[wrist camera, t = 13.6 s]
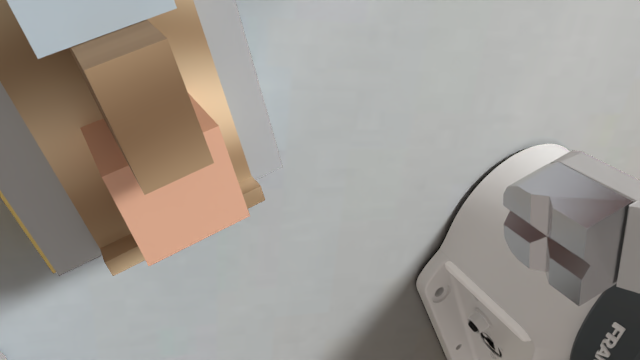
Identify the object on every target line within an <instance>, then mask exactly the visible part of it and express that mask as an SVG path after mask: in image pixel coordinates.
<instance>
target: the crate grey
mask: <svg viewBox="0 0 640 360" xmlns="http://www.w3.org/2000/svg"><path fill="white" fill-rule="evenodd" d="M7 2H8V4H9V6H10V8H11V10H12V11H13V13H14V15H15V17H16V19H17V21H18V23H19V25H20V26H21V28H22V30H23V32H24V34H25V36H26V38H27V40H28V41H29V43H30V45H31V47H32V49H33V51H34V53H35V54H36V56H37V58H38V59H39V58H42V57H45V56H48V55H50V54H53V53H56V52H59V51H61V50H64V49H67V48H70V47H72V46H75V45H78V44H81V43H83V42H86V41H89V40H91V39H94V38H97V37H100V36H102V35H105V34H108V33H111V32H113V31H116V30H119V29H122V28H124V27H127V26H130V25H133V24H135V23H138V22H141V21H143V20H146V19H149V18H152V17H154V16H157V15H160V14H163V13H165V12H168V11H171V10H174V9H176V8H177V7H176V4H175V1H174V0H7Z"/></svg>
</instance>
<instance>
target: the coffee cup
mask: <svg viewBox="0 0 640 360" xmlns="http://www.w3.org/2000/svg"><path fill="white" fill-rule="evenodd" d="M0 360H7V358H6V357H5V355H4V354H3V353H2V352H1V351H0Z"/></svg>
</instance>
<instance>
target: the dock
mask: <svg viewBox="0 0 640 360" xmlns="http://www.w3.org/2000/svg"><path fill="white" fill-rule="evenodd" d="M193 1H194V4H195V7H196V10H197V13H198V16H199V19H200V22H201V25H202V28H203V31H204V34H205V37H206V40H207V43H208V46H209V49H210V52H211V55H212V58H213V61H214V64H215V67H216V70H217V73H218V76H219V79H220V82H221V85H222V88H223V91H224V94H225V97H226V100H227V103H228V106H229V109H230V112H231V115H232V118H233V121H234V124H235V127H236V130H237V133H238V136H239V139H240V142H241V145H242V148H243V151H244V155H245V158H246V161H247V164H248V167H249V170H250V173H251V176H252V177H253V178H254V179H255V180H258V179H260V178H262V177H264V176H266V175H268V174H270V173H272V172H274V171H276V170H278V169H280V168H282V167H283V165H282V161H281V158H280V154H279V151H278V147H277V144H276V140H275V137H274V133H273V130H272V126H271V123H270V119H269V116H268V112H267V109H266V105H265V102H264V98H263V95H262V92H261V88H260V85H259V81H258V78H257V74H256V71H255V67H254V64H253V60H252V57H251V53H250V50H249V46H248V43H247V39H246V36H245V32H244V29H243V25H242V22H241V18H240V15H239V11H238V8H237V4H236V1H235V0H193ZM0 197H1V199H2V200H3V202H4V203H5V204H6V206H7V207H8V209H9V210H10V212H11V213H12V215H13V216H14V217H15V219H16V220H17V222H18V223H19V225H20V226H21V228H22V229H23V230H24V232H25V233H26V235H27V236H28V238H29V239H30V241H31V242H32V244H33V245H34V246H35V248H36V249H37V251H38V252H39V254H40V255H41V257H42V258H43V259H44V261H45V262H46V264H47V265H48V267H49V268H50V270H51V271H52V272H53V273H56V272H57V274H58V275H59V276H60V275H62V274H64V273H66V272H68V271H70V270H72V269H75V268H77V267H79V266H81V265H83V264H85V263H87V262H89V261H91V260H93V259H95V258H97V257H99V256H101V255H102V253H101V250H100V248H99V246H98V245H97V243H96V241H95V240H94V238H93V236H92V235H91V233H90V231H89V230H88V228H87V226H86V225H85V223H84V221H83V220H82V218H81V216H80V215H79V213H78V211H77V209H76V208H75V206H74V204H73V203H72V201H71V199H70V198H69V196H68V194H67V193H66V191H65V189H64V188H63V186H62V184H61V183H60V181H59V179H58V178H57V176H56V174H55V173H54V171H53V169H52V167H51V166H50V164H49V162H48V161H47V159H46V157H45V156H44V154H43V152H42V151H41V149H40V147H39V146H38V144H37V142H36V141H35V139H34V137H33V136H32V134H31V132H30V131H29V129H28V127H27V126H26V124H25V122H24V120H23V119H22V117H21V115H20V114H19V112H18V110H17V109H16V107H15V105H14V104H13V102H12V100H11V99H10V97H9V95H8V94H7V92H6V90H5V89H4V87H3V85H2V84H1V82H0Z"/></svg>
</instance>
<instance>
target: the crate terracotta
mask: <svg viewBox="0 0 640 360" xmlns="http://www.w3.org/2000/svg"><path fill="white" fill-rule="evenodd" d="M188 95H189V97H190V100H191V103H192V105H193V108H194V111H195V113H196V116H197V119H198V121H199V124H200V127H201V129H202V132H203V135H204V137H205V140H206V143H207V145H208V148H209V151H210V153H211V156H212V159H213V161H214V163H213V164H211V165H209V166H206V167H204V168H202V169H200V170H198V171H196V172H194V173H191V174H189V175H187V176H185V177H183V178H181V179H178V180H176V181H174V182H172V183H170V184H168V185H165V186H163V187H161V188H159V189H157V190H155V191H153V192H150V193H148V194H146V195H144V193H143V191H142V189H141V187H140V185H139V184H138V182H137V180H136V178H135V176H134V174H133V172H132V170H131V169H130V167H129V165H128V163H127V161H126V159H125V157H124V156H123V154H122V152H121V150H120V148H119V146H118V144H117V142H116V141H115V139H114V137H113V135H112V133H111V131H110V129H109V128H108V126H107V124H106V122H105V120H104V118H103V119H100V120H98V121H96V122H93V123H91V124H88V125H86V126H83V127H81V128H80V129H81V131H82V133H83V136H84V138H85V140H86V142H87V145H88V147H89V149H90V152H91V154H92V156H93V158H94V161H95V163H96V165H97V168H98V170H99V172H100V174H101V177H102V179H103V181H104V183H105V184H106V186H107V188H108V190H109V192H110V194H111V196H112V198H113V200H114V201H115V203H116V205H117V207H118V209H119V211H120V213H121V215H122V217H123V218H124V220H125V222H126V224H127V226H128V228H129V230H130V232H131V234H132V236H133V237H134V239H135V241H136V243H137V245H138V247H139V249H140V251H141V253H142V254H143V256H144V258H145V260H146V262H147V264H148V266H151V265H153V264H155V263H157V262H159V261H161V260H163V259H165V258H167V257H169V256H171V255H173V254H175V253H177V252H179V251H181V250H183V249H185V248H187V247H189V246H191V245H193V244H195V243H197V242H199V241H201V240H203V239H205V238H207V237H209V236H211V235H213V234H215V233H217V232H219V231H221V230H223V229H225V228H227V227H229V226H231V225H233V224H235V223H237V222H239V221H241V220H243V219H245V218H247V217H249V216H250V214H249V211H248V209H247V206H246V203H245V200H244V197H243V194H242V191H241V188H240V185H239V183H238V180H237V177H236V174H235V171H234V168H233V165H232V162H231V160H230V157H229V154H228V151H227V148H226V145H225V142H224V139H223V136H222V134H221V131H220V128H219V125H218V124H217V123H216V122H215V121H214V120H213V119H212V118H211V117H210V116H209V115H208V114H207V112H206V111H205V110H204V109H203V108H202V107H201V106H200V105H199V104H198V103H197V102H196V101H195V100H194V98H193V97H192V96H191V95H190V94H189V93H188Z"/></svg>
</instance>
